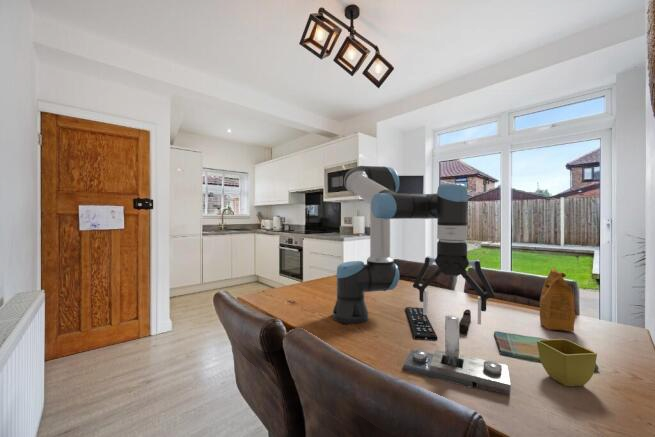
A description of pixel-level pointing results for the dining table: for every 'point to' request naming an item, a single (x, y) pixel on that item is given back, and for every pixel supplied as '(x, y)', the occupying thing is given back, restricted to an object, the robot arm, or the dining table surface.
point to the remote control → (420, 324)
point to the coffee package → (557, 303)
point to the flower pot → (567, 361)
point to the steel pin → (452, 341)
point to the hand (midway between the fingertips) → (451, 318)
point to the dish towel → (519, 346)
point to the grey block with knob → (475, 372)
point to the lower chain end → (421, 364)
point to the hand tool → (465, 322)
